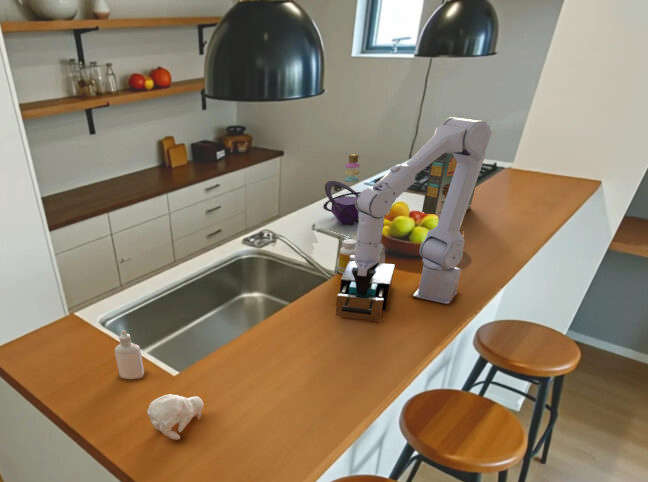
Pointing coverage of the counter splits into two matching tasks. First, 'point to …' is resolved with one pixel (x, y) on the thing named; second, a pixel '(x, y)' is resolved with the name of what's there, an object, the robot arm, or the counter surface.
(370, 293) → the toy car
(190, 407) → the white animal figurine
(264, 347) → the counter surface
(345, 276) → the cabinet
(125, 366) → the eye dropper bottle
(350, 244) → the supplement bottle
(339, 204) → the decorative bottle
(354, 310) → the drawer
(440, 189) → the cake mix box
